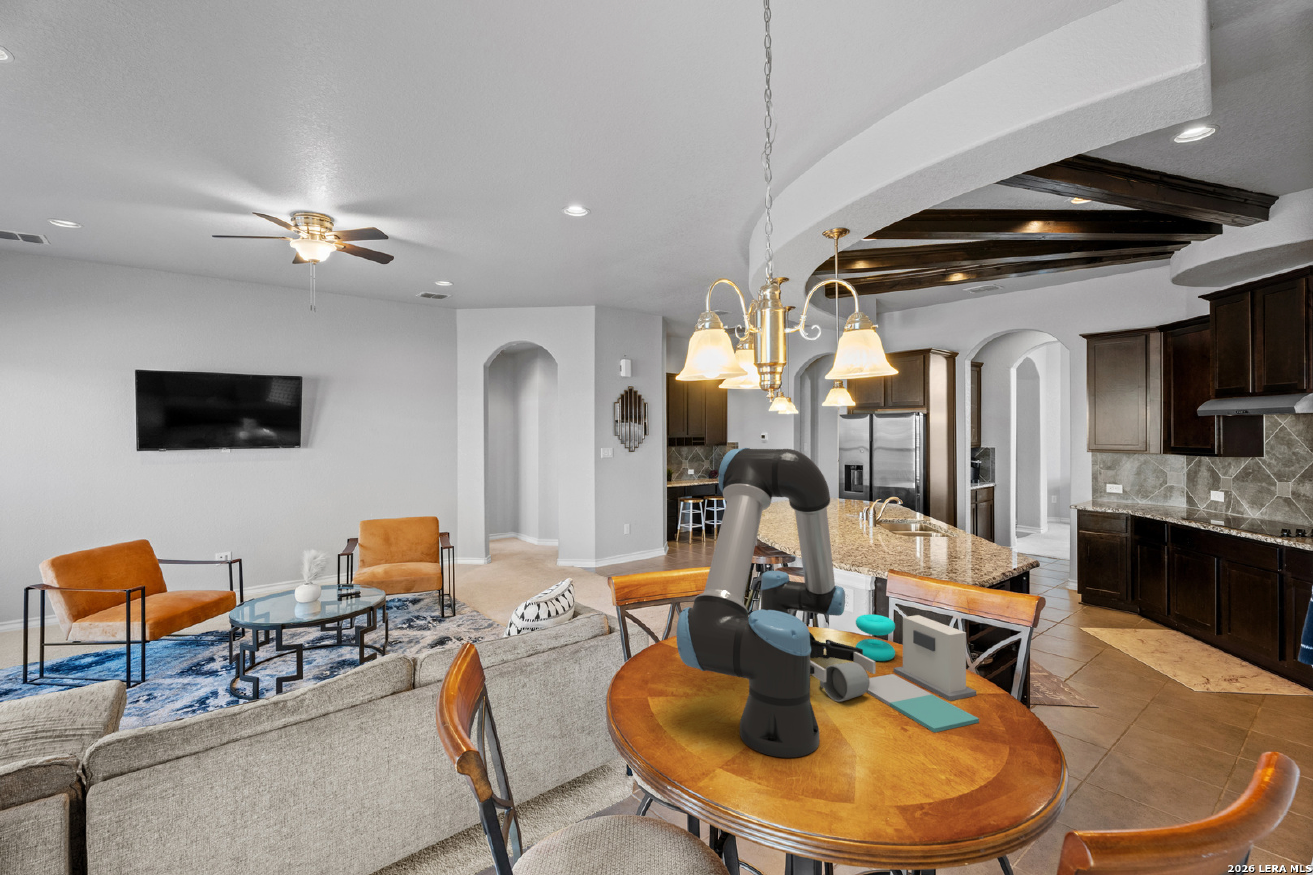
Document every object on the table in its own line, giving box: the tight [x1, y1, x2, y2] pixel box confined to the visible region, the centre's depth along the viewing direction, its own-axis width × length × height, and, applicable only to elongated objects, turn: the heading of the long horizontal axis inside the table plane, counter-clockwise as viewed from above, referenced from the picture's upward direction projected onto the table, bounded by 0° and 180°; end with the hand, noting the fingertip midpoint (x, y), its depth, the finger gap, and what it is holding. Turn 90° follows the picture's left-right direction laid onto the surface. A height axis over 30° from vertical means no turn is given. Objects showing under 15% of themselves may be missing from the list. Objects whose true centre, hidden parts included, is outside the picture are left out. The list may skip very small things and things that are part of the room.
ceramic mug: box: [819, 661, 870, 703], centre depth 131 cm, size 11×8×8 cm
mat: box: [866, 673, 980, 733], centre depth 127 cm, size 12×24×1 cm, turn 21°
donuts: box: [855, 614, 896, 662], centre depth 155 cm, size 10×10×10 cm
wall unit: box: [893, 614, 977, 702], centre depth 137 cm, size 8×17×14 cm, turn 21°
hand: (850, 671), depth 129 cm, fingers open, 13 cm apart
